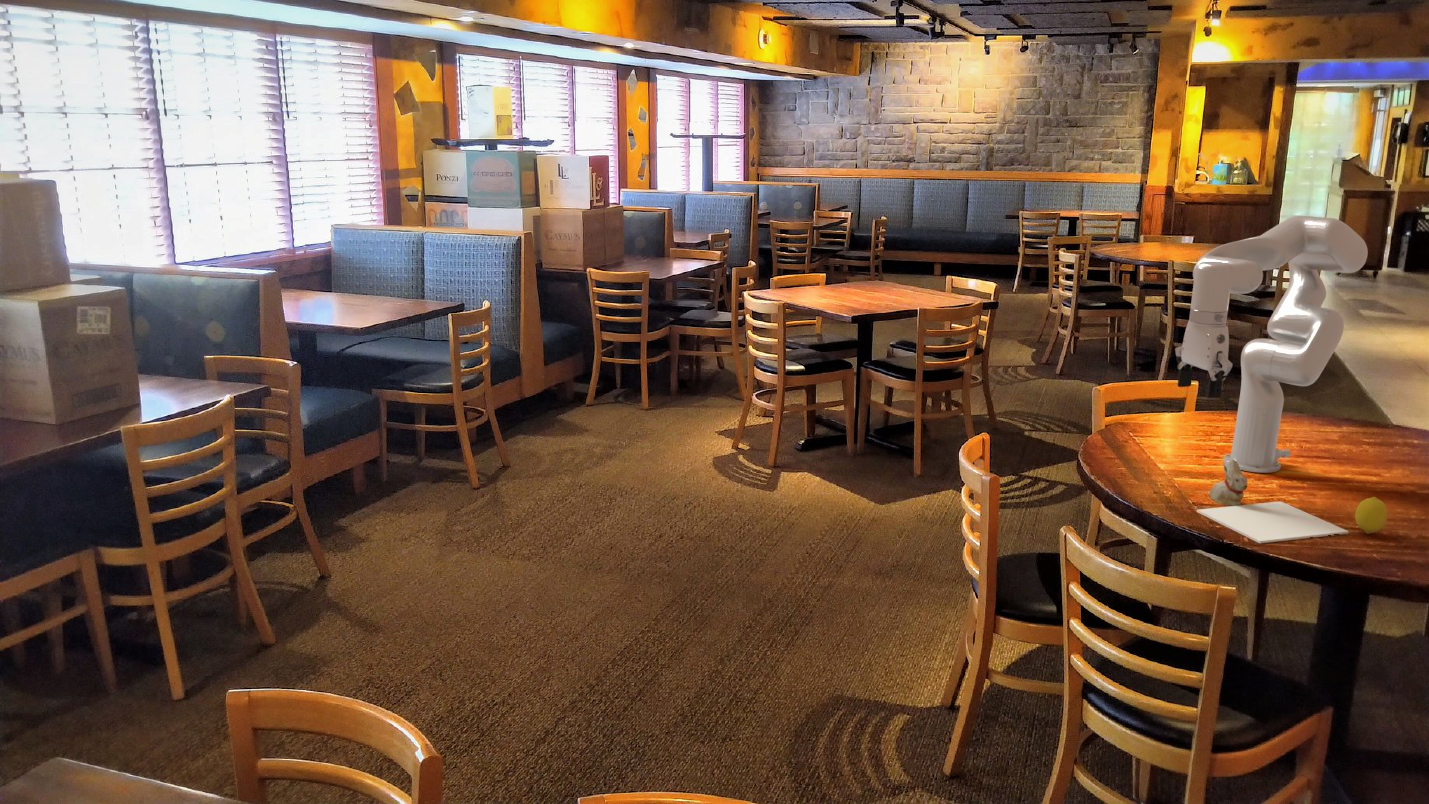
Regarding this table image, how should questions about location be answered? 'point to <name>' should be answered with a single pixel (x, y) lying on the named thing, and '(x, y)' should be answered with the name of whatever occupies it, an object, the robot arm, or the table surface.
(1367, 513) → the lemon
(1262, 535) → the mat
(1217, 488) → the chocolate bunny
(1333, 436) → the table surface
